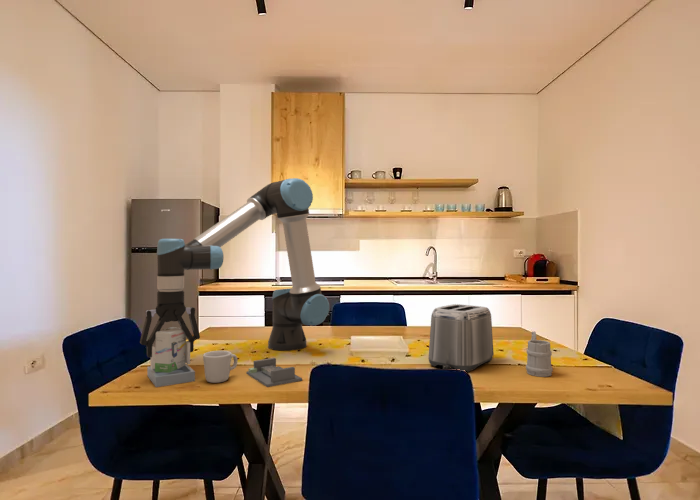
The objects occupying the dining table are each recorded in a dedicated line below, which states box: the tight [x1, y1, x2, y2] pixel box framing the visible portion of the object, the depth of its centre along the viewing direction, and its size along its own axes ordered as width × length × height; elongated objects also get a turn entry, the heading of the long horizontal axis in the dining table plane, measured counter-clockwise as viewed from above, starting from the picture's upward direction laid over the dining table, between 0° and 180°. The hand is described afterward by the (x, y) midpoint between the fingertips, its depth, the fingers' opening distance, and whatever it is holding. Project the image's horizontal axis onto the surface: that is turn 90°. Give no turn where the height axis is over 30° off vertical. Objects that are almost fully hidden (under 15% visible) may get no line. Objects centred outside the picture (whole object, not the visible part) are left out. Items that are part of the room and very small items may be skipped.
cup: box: [202, 350, 238, 384], centre depth 130 cm, size 11×8×8 cm
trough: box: [146, 363, 196, 388], centre depth 131 cm, size 11×14×3 cm
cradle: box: [246, 357, 303, 388], centre depth 132 cm, size 11×16×4 cm
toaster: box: [428, 303, 495, 373], centre depth 148 cm, size 17×30×19 cm, turn 139°
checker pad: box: [261, 365, 279, 377], centre depth 132 cm, size 4×10×1 cm, turn 34°
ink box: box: [154, 326, 187, 373], centre depth 131 cm, size 9×5×12 cm, turn 168°
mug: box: [525, 330, 554, 378], centre depth 138 cm, size 8×12×12 cm, turn 172°
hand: (170, 365), depth 131 cm, fingers closed on ink box, 9 cm apart
